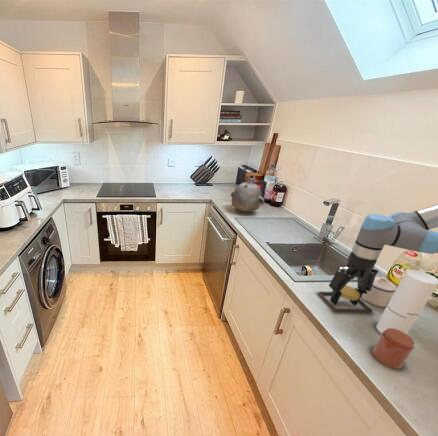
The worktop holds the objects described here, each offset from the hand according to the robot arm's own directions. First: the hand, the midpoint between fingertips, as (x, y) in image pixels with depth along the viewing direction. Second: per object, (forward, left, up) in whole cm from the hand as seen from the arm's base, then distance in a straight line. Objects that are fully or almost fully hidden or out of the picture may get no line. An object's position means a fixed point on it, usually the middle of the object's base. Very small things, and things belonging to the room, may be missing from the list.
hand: (342, 302), depth 96 cm
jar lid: (0, 0, +6) cm, 6 cm away
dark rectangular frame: (0, 0, -1) cm, 1 cm away
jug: (+4, -102, -1) cm, 102 cm away
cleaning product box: (-9, -123, -1) cm, 123 cm away
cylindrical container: (-6, +14, -1) cm, 15 cm away
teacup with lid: (-15, -4, -1) cm, 16 cm away
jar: (+4, +24, -1) cm, 24 cm away
